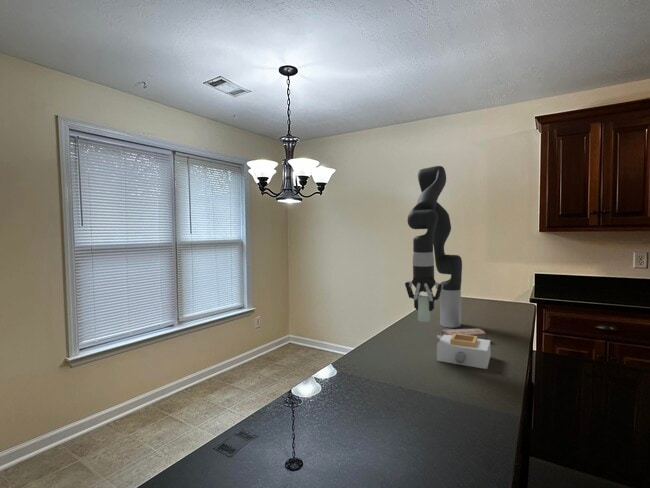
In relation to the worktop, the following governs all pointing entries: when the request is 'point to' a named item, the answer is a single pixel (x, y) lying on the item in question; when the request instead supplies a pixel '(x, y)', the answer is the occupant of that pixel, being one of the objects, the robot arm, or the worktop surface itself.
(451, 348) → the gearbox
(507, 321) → the worktop surface
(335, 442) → the worktop surface
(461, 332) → the packaged product
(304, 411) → the worktop surface
